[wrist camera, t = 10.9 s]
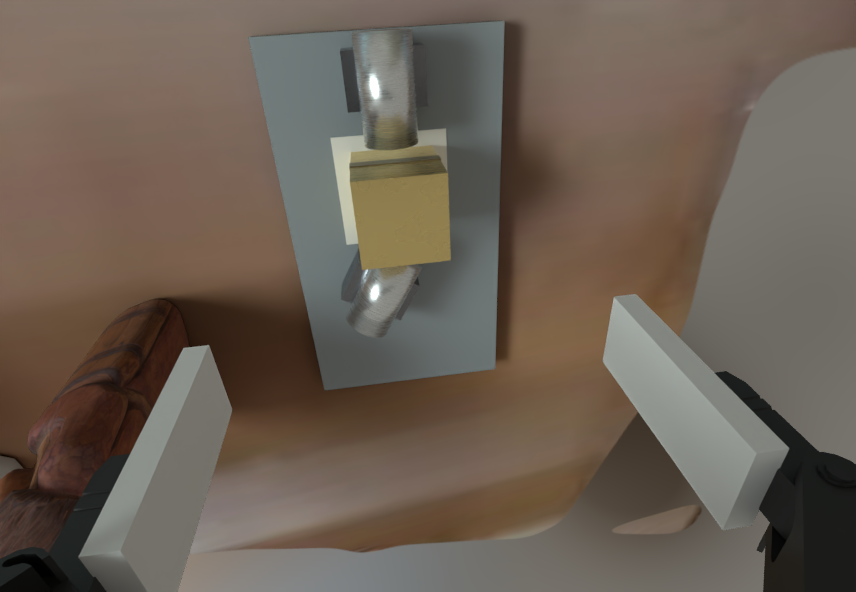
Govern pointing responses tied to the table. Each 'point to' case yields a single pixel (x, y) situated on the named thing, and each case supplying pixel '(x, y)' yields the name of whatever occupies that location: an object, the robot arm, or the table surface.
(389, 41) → the shaft
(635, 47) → the table surface
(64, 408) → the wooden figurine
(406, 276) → the shaft
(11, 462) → the flask
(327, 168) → the base plate
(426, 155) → the block
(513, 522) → the table surface
